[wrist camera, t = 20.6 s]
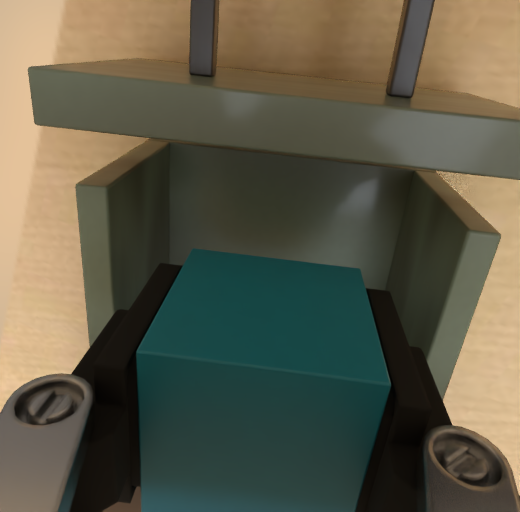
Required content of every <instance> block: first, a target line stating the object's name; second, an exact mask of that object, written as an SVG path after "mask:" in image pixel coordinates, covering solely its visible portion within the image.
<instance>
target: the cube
mask: <svg viewBox="0 0 520 512" xmlns="http://www.w3.org/2000/svg"><path fill="white" fill-rule="evenodd" d="M136 359H137V389H138V421H139V453H140V487H141V512H355V511H356V507H357V504H358V500H359V497H360V493H361V490H362V486H363V483H364V479H365V476H366V472H367V469H368V465H369V461H370V458H371V454H372V451H373V447H374V444H375V440H376V437H377V433H378V430H379V426H380V423H381V419H382V416H383V412H384V409H385V405H386V402H387V398H388V395H389V391H390V388H391V382H390V378H389V374H388V371H387V367H386V363H385V359H384V356H383V352H382V348H381V344H380V341H379V337H378V333H377V329H376V326H375V322H374V318H373V314H372V310H371V307H370V303H369V299H368V295H367V292H366V288H365V284H364V280H363V277H362V273H361V269H359V268H351V267H343V266H335V265H327V264H318V263H310V262H302V261H294V260H285V259H277V258H269V257H261V256H253V255H244V254H236V253H228V252H220V251H212V250H203V249H195V248H194V249H192V250H191V252H190V254H189V256H188V257H187V259H186V261H185V263H184V265H183V267H182V268H181V270H180V272H179V274H178V276H177V278H176V280H175V281H174V283H173V285H172V287H171V289H170V291H169V292H168V294H167V296H166V298H165V300H164V302H163V303H162V305H161V307H160V309H159V311H158V313H157V314H156V316H155V318H154V320H153V322H152V324H151V325H150V327H149V329H148V331H147V333H146V335H145V336H144V338H143V340H142V342H141V344H140V346H139V347H138V349H137V351H136Z"/></svg>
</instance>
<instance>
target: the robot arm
mask: <svg viewBox="0 0 520 512" xmlns="http://www.w3.org/2000/svg"><path fill="white" fill-rule="evenodd" d="M182 267H183V266H182V265H174V264H166V263H160V264H159V265H158V267H157V268H156V270H155V271H154V273H153V274H152V276H151V277H150V279H149V280H148V282H147V283H146V285H145V286H144V288H143V289H142V291H141V292H140V294H139V295H138V297H137V298H136V300H135V301H134V303H133V304H132V306H131V307H130V309H129V310H123V309H119V310H117V311H116V312H115V313H114V314H113V316H112V317H111V319H110V320H109V321H108V323H107V324H106V326H105V327H104V328H103V330H102V331H101V333H100V334H99V336H98V337H97V338H96V340H95V341H94V343H93V344H92V345H91V347H90V348H89V350H88V351H87V353H86V354H85V355H84V357H83V358H82V360H81V361H80V362H79V364H78V365H77V367H76V368H75V370H74V371H73V372H72V374H52V375H46V376H43V377H39V378H36V379H34V380H32V381H30V382H28V383H26V384H24V385H23V386H21V387H20V388H19V389H17V390H16V391H15V392H14V393H13V394H12V395H11V396H10V398H9V399H8V400H7V402H6V404H5V405H4V407H3V409H2V411H1V413H0V512H103V510H105V509H107V508H108V507H110V506H112V505H114V504H115V503H117V502H122V503H129V504H130V503H131V500H132V498H133V495H134V492H135V490H136V487H140V453H139V421H138V389H137V359H136V351H137V349H138V347H139V346H140V344H141V342H142V340H143V338H144V336H145V335H146V333H147V331H148V329H149V327H150V325H151V324H152V322H153V320H154V318H155V316H156V314H157V313H158V311H159V309H160V307H161V305H162V303H163V302H164V300H165V298H166V296H167V294H168V292H169V291H170V289H171V287H172V285H173V283H174V281H175V280H176V278H177V276H178V274H179V272H180V270H181V268H182ZM366 292H367V295H368V299H369V303H370V307H371V310H372V314H373V318H374V322H375V326H376V329H377V333H378V337H379V341H380V344H381V348H382V352H383V356H384V359H385V363H386V367H387V371H388V374H389V378H390V382H391V388H390V391H389V395H388V398H387V402H386V405H385V409H384V412H383V416H382V419H381V423H380V426H379V430H378V433H377V437H376V440H375V444H374V447H373V451H372V454H371V458H370V461H369V465H368V469H367V472H366V476H365V479H364V483H363V486H362V490H361V493H360V497H359V500H358V504H357V507H356V511H355V512H520V496H519V494H518V491H517V487H516V483H515V480H514V476H513V472H512V469H511V467H510V465H509V463H508V461H507V459H506V457H505V456H504V455H503V454H502V452H501V451H500V450H499V449H498V448H497V447H496V446H495V445H494V444H492V443H491V442H490V441H489V440H488V439H486V438H484V437H483V436H481V435H479V434H478V433H476V432H474V431H471V430H468V429H466V428H463V427H459V426H452V423H451V421H450V418H449V416H448V413H447V411H446V408H445V406H444V403H443V401H442V398H441V396H440V393H439V391H438V388H437V386H436V383H435V381H434V378H433V376H432V373H431V371H430V368H429V366H428V363H427V360H426V358H425V355H424V353H423V351H422V349H421V348H419V347H413V346H409V344H408V341H407V338H406V335H405V332H404V330H403V327H402V324H401V321H400V319H399V316H398V313H397V310H396V307H395V305H394V302H393V299H392V296H391V293H390V292H389V291H385V290H377V289H369V288H366Z"/></svg>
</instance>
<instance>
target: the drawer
mask: <svg viewBox="0 0 520 512" xmlns="http://www.w3.org/2000/svg"><path fill="white" fill-rule="evenodd" d="M219 1H220V0H191V9H190V53H189V64H186V63H177V62H168V61H158V60H149V59H139V58H135V59H123V60H110V61H97V62H84V63H71V64H58V65H46V66H33V67H29V68H28V74H29V83H30V90H31V99H32V107H33V115H34V122H35V124H36V125H40V126H49V127H57V128H66V129H75V130H84V131H93V132H101V133H110V134H119V135H128V136H137V137H145V138H150V139H149V140H148V141H146V142H144V143H143V144H141V145H139V146H138V147H136V148H134V149H133V150H131V151H130V152H128V153H126V154H125V155H123V156H121V157H120V158H118V159H116V160H115V161H113V162H111V163H110V164H108V165H107V166H105V167H103V168H102V169H100V170H98V171H97V172H95V173H93V174H92V175H90V176H88V177H87V178H85V179H84V180H82V181H80V182H79V183H77V184H76V198H77V209H78V220H79V232H80V243H81V254H82V265H83V277H84V288H85V299H86V310H87V321H88V333H89V344H90V347H91V345H92V344H93V343H94V341H95V340H96V338H97V337H98V336H99V334H100V333H101V331H102V330H103V328H104V327H105V326H106V324H107V323H108V321H109V320H110V319H111V317H112V316H113V314H114V313H115V312H116V311H117V310H119V309H123V310H129V309H130V307H131V306H132V304H133V303H134V301H135V300H136V298H137V297H138V295H139V294H140V292H141V291H142V289H143V288H144V286H145V285H146V283H147V282H148V280H149V279H150V277H151V276H152V274H153V273H154V271H155V270H156V268H157V267H158V265H159V264H160V263H166V264H174V265H182V266H183V265H184V263H185V261H186V259H187V257H188V256H189V254H190V252H191V250H192V249H194V248H195V249H203V250H212V251H220V252H228V253H236V254H244V255H253V256H261V257H269V258H277V259H285V260H294V261H302V262H310V263H318V264H327V265H335V266H343V267H351V268H359V269H361V273H362V277H363V280H364V284H365V288H369V289H377V290H385V291H389V292H390V293H391V296H392V299H393V302H394V305H395V307H396V310H397V313H398V316H399V319H400V321H401V324H402V327H403V330H404V332H405V335H406V338H407V341H408V344H409V346H413V347H419V348H421V349H422V351H423V353H424V355H425V358H426V360H427V363H428V366H429V368H430V371H431V373H432V376H433V378H434V381H435V383H436V386H437V388H438V391H439V393H440V396H441V398H442V401H443V398H444V395H445V392H446V390H447V387H448V384H449V381H450V379H451V376H452V373H453V370H454V367H455V365H456V362H457V359H458V356H459V353H460V351H461V348H462V345H463V342H464V339H465V337H466V334H467V331H468V328H469V325H470V323H471V320H472V317H473V314H474V311H475V309H476V306H477V303H478V300H479V297H480V295H481V292H482V289H483V286H484V283H485V281H486V278H487V275H488V272H489V269H490V267H491V264H492V261H493V258H494V255H495V253H496V250H497V247H498V244H499V241H500V239H501V234H500V233H499V232H498V231H497V230H496V229H495V228H494V227H493V226H492V225H491V224H489V223H488V222H487V221H486V220H485V219H484V218H483V217H482V216H481V215H480V214H479V213H478V212H477V211H476V210H475V209H474V208H473V207H472V206H471V205H470V204H469V203H468V202H467V201H465V200H464V199H463V198H462V197H461V196H460V195H459V194H458V193H457V192H456V191H455V190H454V189H453V188H452V187H451V186H450V185H449V184H448V183H447V182H446V181H445V180H444V179H443V178H441V177H440V176H439V175H438V174H437V172H436V171H445V172H454V173H462V174H471V175H480V176H489V177H498V178H506V179H515V180H520V108H516V107H513V106H509V105H506V104H503V103H499V102H496V101H492V100H489V99H485V98H482V97H479V96H475V95H472V94H468V93H459V92H449V91H440V90H430V89H421V88H415V85H416V80H417V76H418V72H419V67H420V63H421V59H422V54H423V50H424V46H425V41H426V37H427V33H428V28H429V24H430V20H431V15H432V11H433V6H434V2H435V0H404V3H403V8H402V13H401V18H400V23H399V28H398V33H397V38H396V43H395V48H394V53H393V57H392V62H391V67H390V72H389V77H388V82H387V85H384V84H374V83H365V82H355V81H346V80H337V79H327V78H318V77H308V76H299V75H290V74H280V73H271V72H261V71H252V70H243V69H233V68H224V67H216V64H217V43H218V22H219ZM435 170H436V171H435Z"/></svg>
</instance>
